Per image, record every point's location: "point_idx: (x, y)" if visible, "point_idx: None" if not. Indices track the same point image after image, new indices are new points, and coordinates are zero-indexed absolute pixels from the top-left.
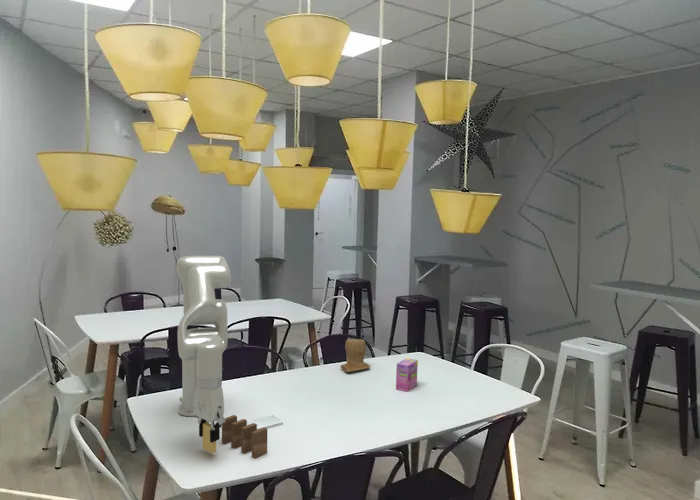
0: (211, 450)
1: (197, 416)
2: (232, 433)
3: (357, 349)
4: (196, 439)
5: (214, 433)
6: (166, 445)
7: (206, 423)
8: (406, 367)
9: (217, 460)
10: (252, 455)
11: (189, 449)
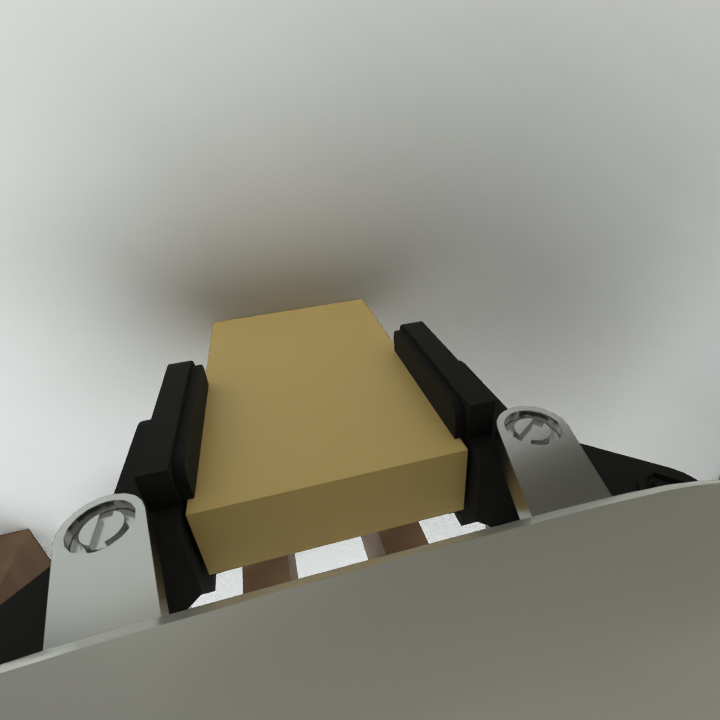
0: (218, 331)
1: (658, 477)
2: (271, 570)
3: None
4: (553, 341)
5: (122, 476)
6: (674, 111)
7: (425, 495)
8: None
9: (119, 317)
10: (9, 545)
11: (471, 227)
